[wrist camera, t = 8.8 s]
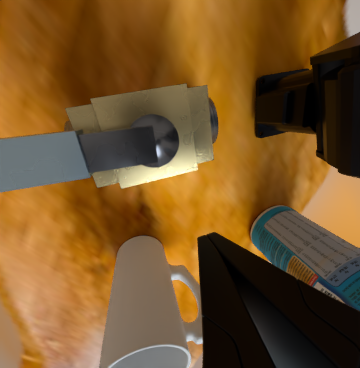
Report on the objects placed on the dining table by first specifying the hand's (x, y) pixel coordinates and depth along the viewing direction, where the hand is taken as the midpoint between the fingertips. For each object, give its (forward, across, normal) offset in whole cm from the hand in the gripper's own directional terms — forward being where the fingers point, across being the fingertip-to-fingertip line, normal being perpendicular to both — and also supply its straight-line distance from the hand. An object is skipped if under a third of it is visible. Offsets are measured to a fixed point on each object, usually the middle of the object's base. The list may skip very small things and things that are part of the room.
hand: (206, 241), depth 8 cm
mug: (+13, +4, +12) cm, 18 cm away
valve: (+13, +1, -4) cm, 14 cm away
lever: (+6, +5, -4) cm, 9 cm away
